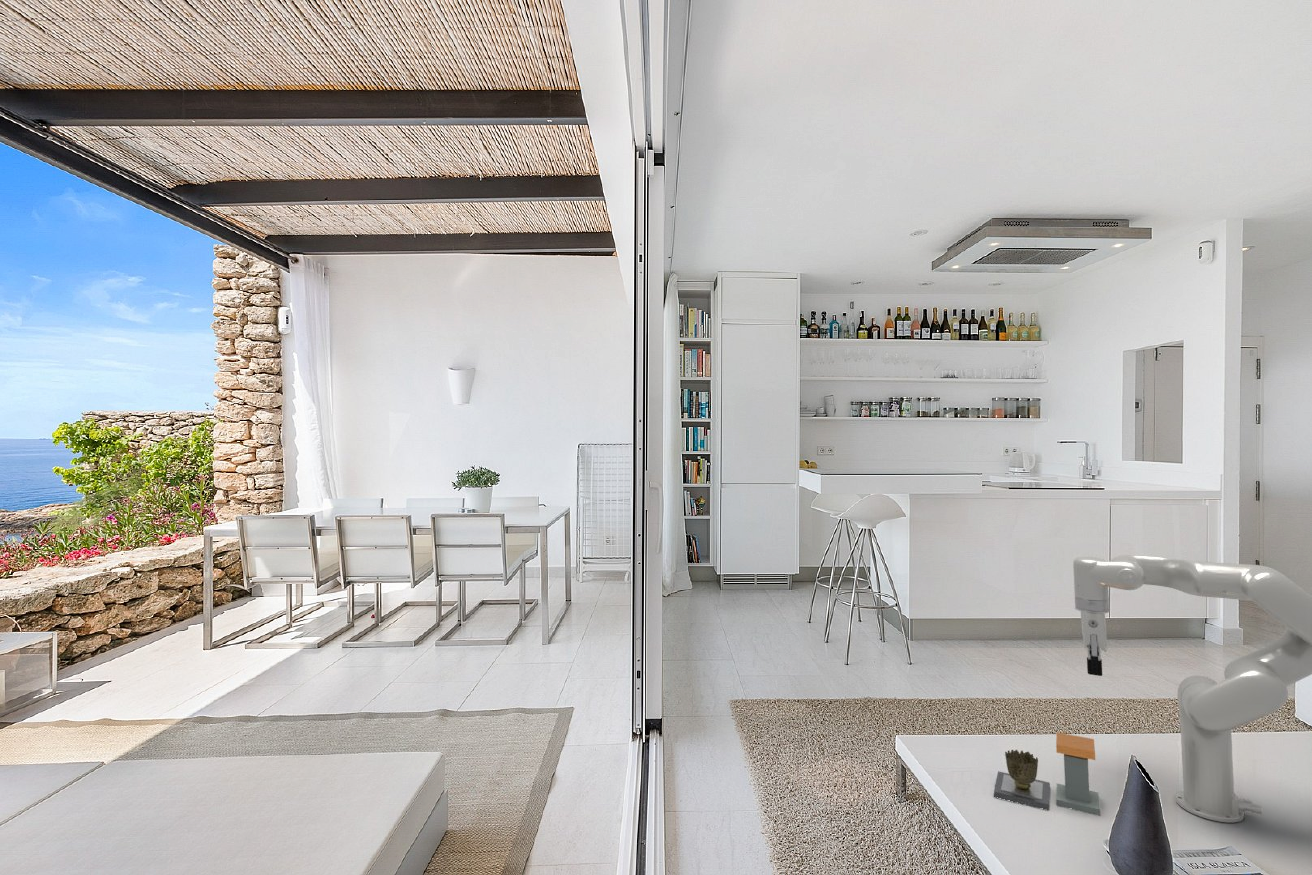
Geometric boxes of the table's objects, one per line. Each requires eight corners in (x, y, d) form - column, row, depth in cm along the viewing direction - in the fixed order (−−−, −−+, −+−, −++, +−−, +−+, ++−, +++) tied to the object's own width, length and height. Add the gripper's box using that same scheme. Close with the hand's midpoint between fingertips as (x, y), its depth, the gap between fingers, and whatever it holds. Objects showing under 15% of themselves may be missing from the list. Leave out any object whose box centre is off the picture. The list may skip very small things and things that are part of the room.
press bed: (1050, 788, 167) (1049, 781, 167) (1049, 810, 157) (1048, 803, 157) (998, 776, 174) (998, 770, 174) (994, 797, 163) (993, 790, 164)
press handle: (1095, 786, 162) (1093, 738, 162) (1097, 801, 155) (1094, 751, 155) (1058, 778, 166) (1056, 732, 166) (1058, 792, 159) (1056, 744, 160)
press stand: (1098, 798, 162) (1096, 750, 162) (1100, 815, 154) (1098, 765, 155) (1056, 788, 167) (1054, 742, 167) (1056, 805, 159) (1054, 756, 159)
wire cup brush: (1045, 794, 161) (1044, 762, 161) (1016, 794, 161) (1014, 762, 162) (1028, 779, 169) (1027, 748, 169) (1000, 779, 169) (999, 749, 169)
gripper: (1110, 612, 161) (1114, 685, 160) (1107, 600, 173) (1110, 668, 173) (1075, 609, 165) (1078, 680, 164) (1074, 597, 177) (1077, 663, 177)
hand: (1094, 674), depth 169 cm, fingers closed
